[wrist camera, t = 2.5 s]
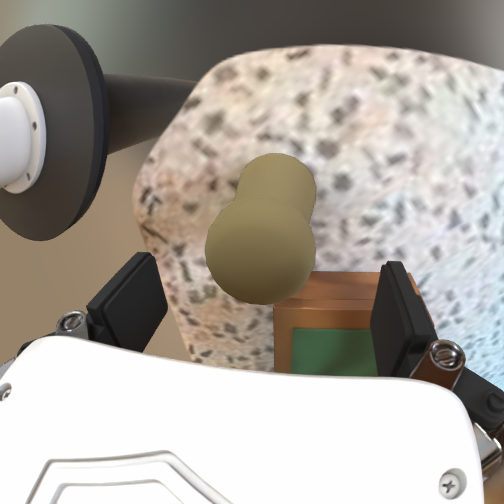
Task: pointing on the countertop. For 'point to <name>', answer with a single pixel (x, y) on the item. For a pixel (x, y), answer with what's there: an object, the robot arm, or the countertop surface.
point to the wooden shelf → (328, 326)
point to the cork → (265, 232)
